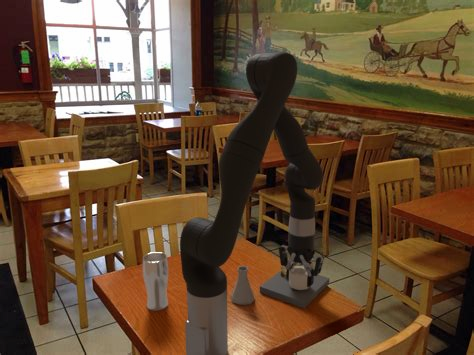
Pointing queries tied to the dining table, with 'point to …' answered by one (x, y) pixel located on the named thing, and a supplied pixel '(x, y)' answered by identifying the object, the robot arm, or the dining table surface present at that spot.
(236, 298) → the flask
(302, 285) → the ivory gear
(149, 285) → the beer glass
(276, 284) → the board
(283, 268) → the brass gear
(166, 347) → the dining table surface
